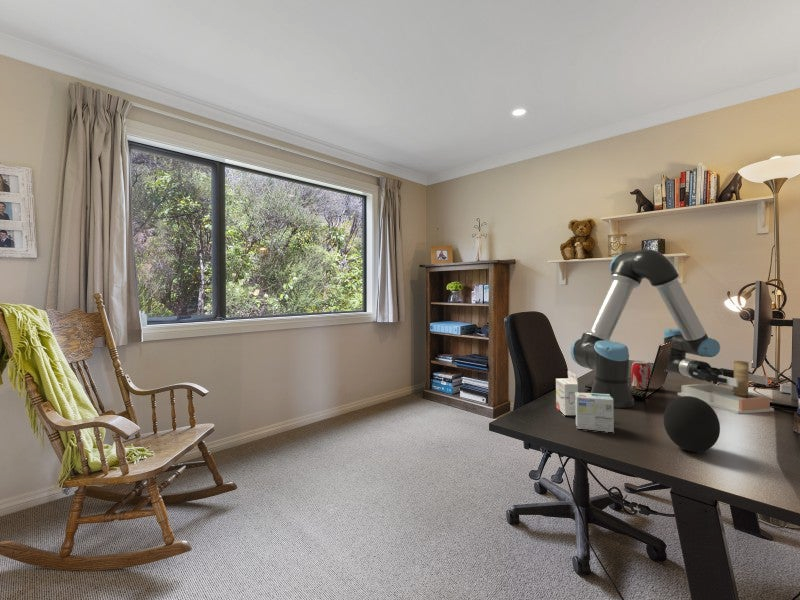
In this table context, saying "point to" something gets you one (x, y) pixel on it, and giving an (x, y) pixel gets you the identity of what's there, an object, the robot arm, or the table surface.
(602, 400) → the light bulb box
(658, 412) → the table surface
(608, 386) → the robot arm
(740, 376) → the headed peg
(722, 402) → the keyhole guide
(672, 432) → the decorative egg
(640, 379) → the soda can
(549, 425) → the table surface
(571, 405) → the ink cartridge box
